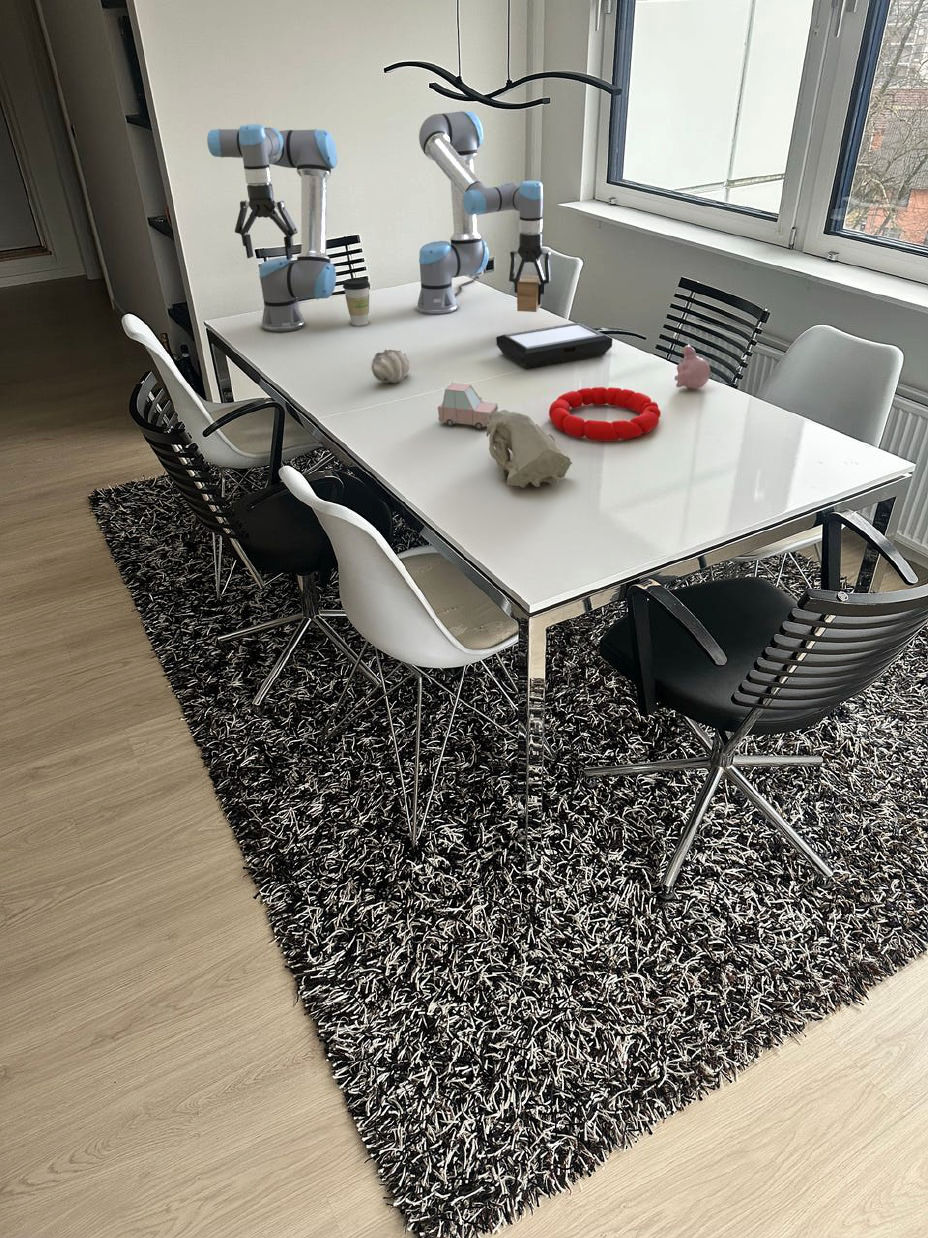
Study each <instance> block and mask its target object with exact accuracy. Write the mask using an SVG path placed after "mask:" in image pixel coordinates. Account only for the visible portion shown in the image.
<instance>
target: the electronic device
mask: <svg viewBox="0 0 928 1238" xmlns="http://www.w3.org/2000/svg"><path fill="white" fill-rule="evenodd" d="M495 339H496V340H495V341H496V342H495V345H496V347H497V348H498V349H499V351H500V352H501V353H502V355H504V356H505V357H508V358H509V359H511V360H512V361H514V362H515V363H517V364H518V365H521V366H522V367H523V368H524V369H525V370H527V369H530V368H535V367H542V366H546V365H553V364H558V363H565V362H569V361H576V360H580V359H587V358H592V357H597V356H603V355H606V354H607V352H608V351H610V349H611V348H612V347H613V338H612V337H610V336H608V335H606V334H605V333H602V332H601V331H598V330H597V329H594V328H593V327H590V326H588V325H586V324H584V323H583V322H573V323H572V322H571V323H567V324H561V325H554V326H548V327H543V328H537V329H536V328H535V329H531V330H525V331H520V332H519V331H518V332H513V333H507V334H502V335H498V336H496V337H495Z"/></svg>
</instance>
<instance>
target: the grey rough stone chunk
mask: <svg viewBox="0 0 928 1238" xmlns="http://www.w3.org/2000/svg"><path fill="white" fill-rule="evenodd" d="M485 436H486V438H487V437H489V438H488V440H489V444H488V445H489V446H488V450H489V454H490V456H491V457H492V458H493V459H494V460H495V462H496V464H497V466H499V468H500V470H501V471H502V472H501V478H502V479H507V480H506V484H507V486H517V487H518V486H519V488H523V489H524V488H526V486H527V485H529V483H531V485H533V486H534V487H536V488H540V485H541V484H542V482H544V483H549V484H550V485H553V484H555V483H556V482H557V480H561V479H563V478H565V476H566V474H567V472H568V471H569V469H570V467H571V466H572V464H573V462H572V461H571V458H570V457H568V456H567V455H565V453H564V451H562V449H561V448H560V446H559V444H557V443H556V439H555V438H554V436H553V435H551V434H550V433H548V432H547V431H546V430H545V429H544V428H542V427H541V426H539V425H538V424H537V423H536V424H535V422H534V421H533V419H532V418H531V417H530V416H529V415H527V414H524V413H519V412H515V411H509V410H507V409H502V410H500V411H499V410H497V411H496V412H492V413H491V414H490V422H488V423H487V427H486V435H485ZM511 453H512V454H511ZM511 455H512V457H513V458H512V460H511ZM507 474H508V475H507Z"/></svg>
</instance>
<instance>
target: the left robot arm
mask: <svg viewBox="0 0 928 1238" xmlns="http://www.w3.org/2000/svg"><path fill="white" fill-rule="evenodd" d="M206 142H207V143H206V144H207V148H208V151H209V153H210V154H211V155H212V156H213V157H214V158H235V159H236V158H237V159H242V162H243V168H244V177H245V183H246V184H247V186H246V188H247V189H246V190H247V197H248V199H249V201H247V200H246V199H243V200H241V201H240V202H239V212H238V216H237V220H236V223H235V229H234V233H235V234H238V235H240V236H241V241H242V242H241V243H242V246H243V247H245V252H246V253H245V254H246V258H247V259H251V258H254V250H253V246H252V245H253V244H252V240H251V239H252V238H251V234H250V233H249V231H250V229H251V227H252V226H253V224H254V222H256V219H257V218H265V219H267V218H269V219H270V220H271V221H273V222H274V224H275V225H276V226H277V227H278V229H279V230H280V231H281V232H282V233H283V234H284V235H285V236H283V242H284V250H285V256H284V257H277V258H272V259H268V260H266V261H263V262H261V263H260V265H259V266H258V273H259V281H260V287H261V292H262V293H261V294H262V299H263V313H262V319H261V326H262V330H264V331H265V332H271V333H286V332H293V331H296V330H297V331H298V330H300V329H302V328H304V326H305V319H304V317H303V314H302V312H301V310H300V307H299V306H298V305H299V304H298V302H299V301H300V300H301V299H316V300H320V299H329V298H330V297H331V296H332V295H333V293H334V291H335V288H336V283H337V282H336V281H337V272H336V267H335V265H334V264H333V263H332V262H331V258H330V257H329V256H328V254H327V180H329V178H330V177H331V176H332V169H335V168H336V167H337V164H338V153H337V147H336V144H335V140H334V138H333V135H332V134H331V133H330V132H329V130H325V129H317V128H314V129H286V130H285V129H284V130H278V129H276V128H275V127H264V126H263V125H262V124H260V123H259V124H258V123H257V124H256V123H255V124H254V123H253V124H243V125H240V126H239V128H238V129H237V128H234V129H233V128H227V129H225V128H224V129H220V128H217V129H216V128H215V129H210V130H209V131H208V133H207V136H206ZM270 165H272V166H276V167H277V166H278V167H281V168H288V169H296V174H297V175H298V176H299V177H300V180H301V181H300V182H301V183H300V185H301V186H300V187H301V188H300V197H301V198H300V201H301V203H300V206H301V208H300V209H301V211H300V216H301V217H300V218H301V220H300V221H301V222H300V223H301V224H300V225H301V226H300V229H301V230H300V231H301V235H300V237H301V238H300V239H301V240H300V241H301V243H300V245H301V247H300V250H301V251H300V253H299V254H298V255H297V256H296V262H293V260H292V259H293V258H294V257H293V250H292V248H293V247H294V238H293V236H294V235H296V234H298V233H299V232H298V229H297V227H296V225H295V223H294V221H293V220H292V218H291V215H290V214H289V212H288V210H287V208H286V205H285V201H284V200H280V201H275V199H274V189H273V184H272V183H271V182H272V174H271V168H270ZM249 208H250V210H251V212H250V213H249V216H248V218H247V220H246V217H247V213H248V209H249ZM275 209H276V210H278V212H277V211H276V210H275ZM278 213H279V214H280V216H281V217H280V216H279V214H278ZM281 218H282V219H281ZM245 220H246V222H245Z"/></svg>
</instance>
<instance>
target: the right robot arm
mask: <svg viewBox="0 0 928 1238" xmlns="http://www.w3.org/2000/svg"><path fill="white" fill-rule="evenodd" d="M483 140H484V131H483V126H482V122H481V120H480V119H479V118H478V116H477V115H476V114H475V112H473V111H466V110H465V111H462V110H460V111H454V112H443V113H434V114H432V115H430V116H428V117H427V118H426V119H425V120H424V121H423V122H422V124H421V126H420V129H419V133H418V141H419V146H420V149H421V151H422V152H423V154H424V155H425V156H426V158H427V159H428V160H430V161H433V162H435V164H436V165H437V166H438V167H439V169H440V170H441V171H442V173H444V175H445V176H446V177H447V178H448V179H449V181H450V191H451V206H452V207H451V208H452V222H453V223H452V224H453V234H452V235H451V236H450V238H449V239H450V242H449V241H447V240H438V241H431V242H428V243H426V244H424V245H422V246H421V248H420V249H419V259H418V262H419V273H420V292H419V296H418V299H417V306H416V307H417V311H418V312H419V313H421V314H425V315H443V314H445V315H446V314H449V313H453V312H456V310H458V301H457V299H456V296H458V295H460V293H461V292H462V290H463V288H462V287H463V286H466V285H468V284H471V283H474V282H476V280H477V279H478V280H479V279H480V276H478V275H476V274H480V273H482V272H484V270H485V269H486V268H487V265H488V263H489V256H490V253H489V247H487V246H488V245H487V242H486V241H484V239H482V235H481V234H480V233H479V232H478V224H477V223H478V221H477V216H481V215H486V214H493V213H499V212H505V211H511V210H512V211H517V212H519V226H518V227H519V228H518V229H519V230H518V231H519V232H520V233H519V237H518V238H519V242H518V249H515V250H514V249H512V250H511V251H510V253H509V255H510V266H509V267H510V268H509V277H508V278H509V279H508V281H509V282H510V283H513V285H514V286H513V287H514V289H513V292H514V293H515V294H517V282H518V280H519V279H520V278H521V277H522V274H523V271H524V268H525V265H526V263H532V264H533V265H534V267H535V270H536V273H537V276H539V280H540V284H539V293H538V305H541V303H543V295H545V293H546V284H549V283H550V282H551V281H552V278H551V263H550V258H551V254H552V252H551V251H549V250H548V251H545V250H544V249H543V245H542V243H543V242H542V241H543V233H542V231H543V207H544V206H543V205H544V203H543V202H544V190H543V189H544V188H543V183H542V182H541V181H539V180H524V181H521V182H520V184H516V183H514V182H505V183H503V184H501V185H500V186H491V187H487V186H485V184H484V183H483V182H482V180H480V178H479V177H478V176H477V175H476V173H475V168H474V159H475V158H476V156H477V155H478V148H479V147H481V146H482V144H483V142H482V141H483ZM518 255H519V256H520V258H521V260H520V264H519V267H518V268H517V269H518V270H517V272H516V265H517V257H518ZM541 256H542V259H544V271H543V269H542V266H541V261H540V257H541ZM515 272H516V273H515ZM515 274H516V275H515ZM473 275H475V276H474V277H473V279H472V280H471V279H470V280H469V281H466V282H464V283H462V284H460V285H459V290H458V291H457V292H455V293H454V289H453V279H454V278H461V277H466V276H473ZM544 275H545V276H544ZM541 306H542V305H541Z"/></svg>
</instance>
